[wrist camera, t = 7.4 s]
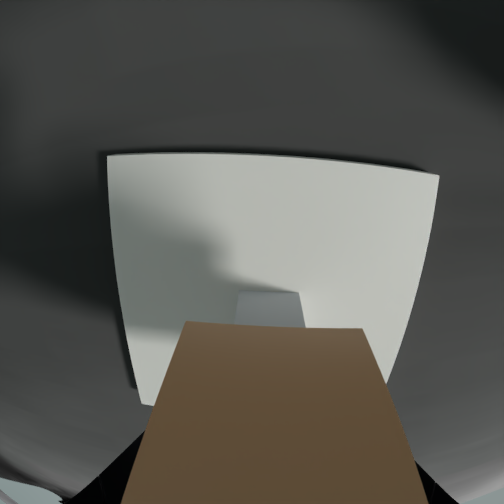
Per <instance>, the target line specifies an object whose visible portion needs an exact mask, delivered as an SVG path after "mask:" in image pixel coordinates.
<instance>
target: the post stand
mask: <svg viewBox="0 0 504 504" xmlns="http://www.w3.org/2000/svg"><path fill="white" fill-rule="evenodd" d="M107 172H108V194H109V209H110V222H111V233H112V243H113V253H114V261H115V269H116V277H117V284H118V291H119V297H120V304H121V310H122V315H123V321H124V327H125V332H126V337H127V342H128V347H129V352H130V357H131V361H132V366H133V370H134V374H135V379H136V383H137V387H138V391H139V395H140V399H141V403H142V404H146V405H152V406H154V405H155V402H156V399H157V396H158V393H159V391H160V388H161V385H162V382H163V380H164V377H165V374H166V372H167V369H168V366H169V364H170V361H171V358H172V356H173V353H174V350H175V348H176V345H177V342H178V340H179V337H180V334H181V332H182V329H183V327H184V324H185V322H186V321H195V322H208V323H221V324H237V325H254V326H275V327H303V328H362V329H363V331H364V333H365V335H366V338H367V340H368V342H369V345H370V347H371V349H372V352H373V354H374V356H375V359H376V361H377V364H378V366H379V369H380V371H381V373H382V376H383V378H384V381H385V383H387V381H388V378H389V375H390V373H391V370H392V367H393V365H394V362H395V359H396V356H397V353H398V351H399V348H400V345H401V342H402V339H403V336H404V332H405V329H406V326H407V323H408V320H409V316H410V313H411V310H412V306H413V303H414V299H415V295H416V292H417V288H418V284H419V280H420V276H421V272H422V268H423V264H424V259H425V255H426V250H427V246H428V241H429V236H430V231H431V225H432V220H433V214H434V208H435V202H436V196H437V189H438V181H439V175H436V174H433V173H430V172H424V171H418V170H412V169H406V168H399V167H392V166H385V165H378V164H370V163H362V162H353V161H344V160H335V159H324V158H313V157H301V156H287V155H270V154H250V153H217V152H161V153H129V154H115V155H110V156H107Z"/></svg>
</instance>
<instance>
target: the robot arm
mask: <svg viewBox="0 0 504 504" xmlns="http://www.w3.org/2000/svg"><path fill="white" fill-rule="evenodd" d="M144 433H145V431H144V432H143V433H142V434H141V435H140V436H139V437H138V438H137V439H136V440H135V441H134V442H133V443H132V444H131V445H130V446H129V447H128V448H127V449H126V450H125V451H124V452H123V453H121V454H120V455H119V456H118V457H117V458H116V459H115V460H114V461H113V462H112V463H111V464H110V465H109V466H108V467H107V468H106V469H105V470H104V471H103V472H102V473H101V474H100V475H99V476H97V477H96V478H95V479H94V480H93V481H92V482H91V483H90V484H89V485H87V486H86V487H85V488H84V489H83V490H82V491H81V492H79V493H78V494H77V495H75V496H74V497H73V498H71V499H70V500H68V501H67V502H66V503H64V504H121V502H122V498H123V495H124V492H125V489H126V486H127V483H128V480H129V477H130V474H131V471H132V468H133V465H134V462H135V459H136V456H137V453H138V450H139V447H140V444H141V441H142V439H143V436H144ZM414 461H415V460H414ZM415 464H416V467H417V470H418V473H419V476H420V479H421V482H422V485H423V488H424V491H425V494H426V498H427V501H428V504H459V503H458V502H456V501H455V500H454V499H453V498H452V497H451V496H450V495H448V494H447V493H446V492H445V491H444V490H443V489H442V488H441V487H440V486H439V485H438V484H437V483H435V481H434V480H433V479H432V478H431V477H430V476H429V475H428V474H427V473H426V472H425V471H424V470H423V469H422V468H421V467H420V466H419V465H418V463H417V462H416V461H415Z"/></svg>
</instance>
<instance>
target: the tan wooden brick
mask: <svg viewBox="0 0 504 504" xmlns="http://www.w3.org/2000/svg"><path fill="white" fill-rule="evenodd" d="M121 504H428V501H427V498H426V494H425V491H424V488H423V485H422V482H421V479H420V476H419V473H418V470H417V467H416V464H415V461H414V458H413V455H412V452H411V449H410V447H409V444H408V441H407V438H406V435H405V433H404V430H403V427H402V425H401V422H400V419H399V417H398V414H397V411H396V409H395V406H394V404H393V401H392V398H391V396H390V393H389V391H388V388H387V386H386V383H385V381H384V378H383V376H382V373H381V371H380V369H379V366H378V364H377V361H376V359H375V356H374V354H373V352H372V349H371V347H370V345H369V342H368V340H367V338H366V335H365V333H364V331H363V329H362V328H303V327H275V326H254V325H237V324H221V323H208V322H195V321H186V322H185V324H184V327H183V329H182V332H181V334H180V337H179V340H178V342H177V345H176V348H175V350H174V353H173V356H172V358H171V361H170V364H169V366H168V369H167V372H166V374H165V377H164V380H163V382H162V385H161V388H160V391H159V393H158V396H157V399H156V402H155V405H154V407H153V410H152V413H151V416H150V419H149V421H148V424H147V427H146V430H145V433H144V436H143V439H142V441H141V444H140V447H139V450H138V453H137V456H136V459H135V462H134V465H133V468H132V471H131V474H130V477H129V480H128V483H127V486H126V489H125V492H124V495H123V498H122V502H121Z"/></svg>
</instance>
